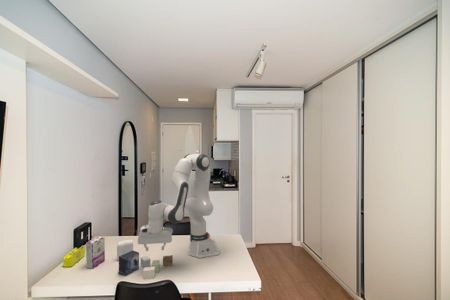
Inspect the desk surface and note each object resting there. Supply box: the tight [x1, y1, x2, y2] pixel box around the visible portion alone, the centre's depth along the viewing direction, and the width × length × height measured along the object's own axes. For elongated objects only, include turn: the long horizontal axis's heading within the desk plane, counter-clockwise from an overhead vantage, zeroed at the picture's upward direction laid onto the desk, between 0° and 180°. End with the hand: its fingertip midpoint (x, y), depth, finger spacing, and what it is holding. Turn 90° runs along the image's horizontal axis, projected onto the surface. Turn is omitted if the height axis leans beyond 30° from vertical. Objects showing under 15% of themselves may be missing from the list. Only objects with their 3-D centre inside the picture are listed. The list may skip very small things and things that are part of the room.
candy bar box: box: [85, 235, 106, 270], centre depth 153 cm, size 11×5×16 cm, turn 170°
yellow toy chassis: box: [62, 245, 86, 268], centre depth 157 cm, size 16×6×8 cm, turn 4°
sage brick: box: [151, 259, 160, 274], centre depth 145 cm, size 4×6×5 cm, turn 11°
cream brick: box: [142, 266, 156, 280], centre depth 138 cm, size 4×6×5 cm, turn 101°
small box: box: [117, 249, 140, 277], centre depth 144 cm, size 11×6×10 cm, turn 151°
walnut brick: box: [162, 255, 174, 267], centre depth 153 cm, size 4×6×5 cm, turn 101°
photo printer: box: [116, 239, 134, 262], centre depth 161 cm, size 10×4×12 cm, turn 123°
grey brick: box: [140, 255, 151, 269], centre depth 151 cm, size 4×6×5 cm, turn 41°
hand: (154, 250), depth 145 cm, fingers open, 8 cm apart
